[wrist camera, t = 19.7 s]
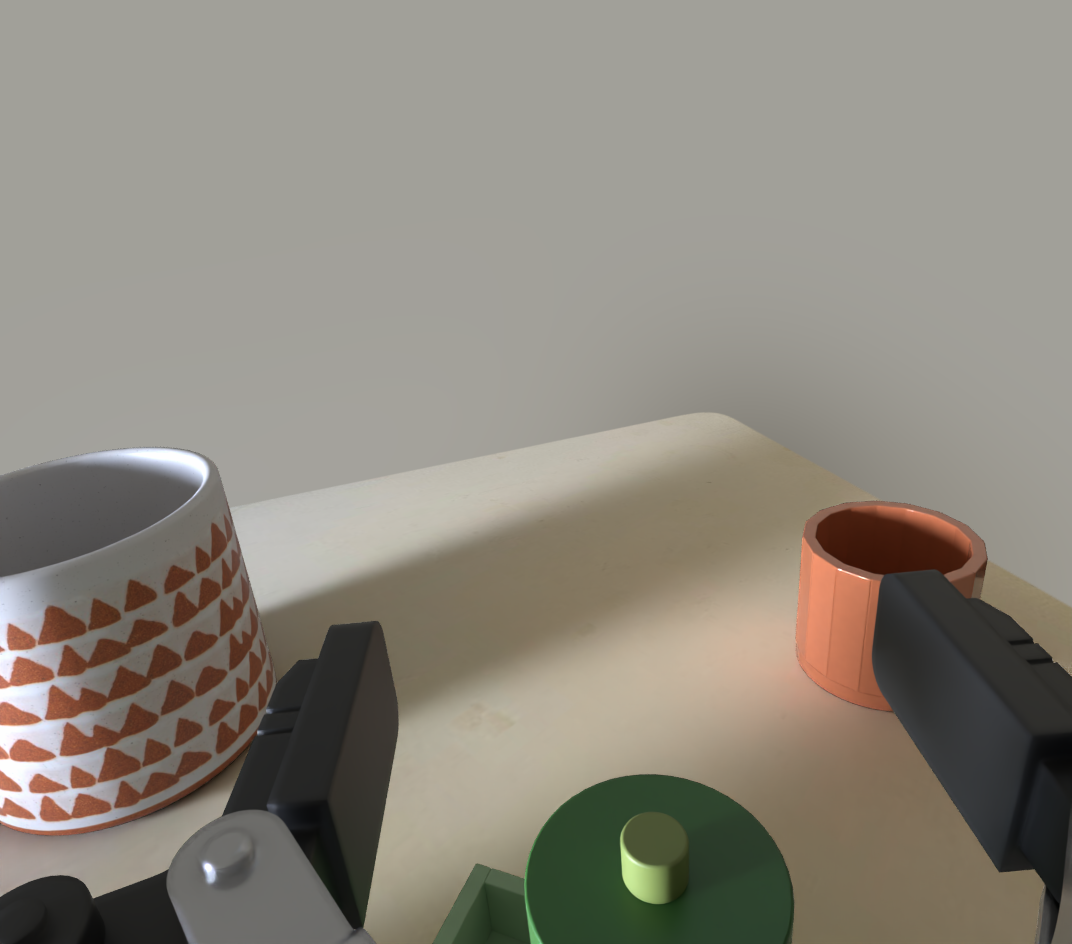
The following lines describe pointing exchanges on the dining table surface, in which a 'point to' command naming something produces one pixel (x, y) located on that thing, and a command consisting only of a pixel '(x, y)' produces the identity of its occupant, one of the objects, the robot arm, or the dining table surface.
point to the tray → (487, 911)
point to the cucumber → (656, 869)
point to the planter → (121, 638)
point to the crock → (869, 583)
